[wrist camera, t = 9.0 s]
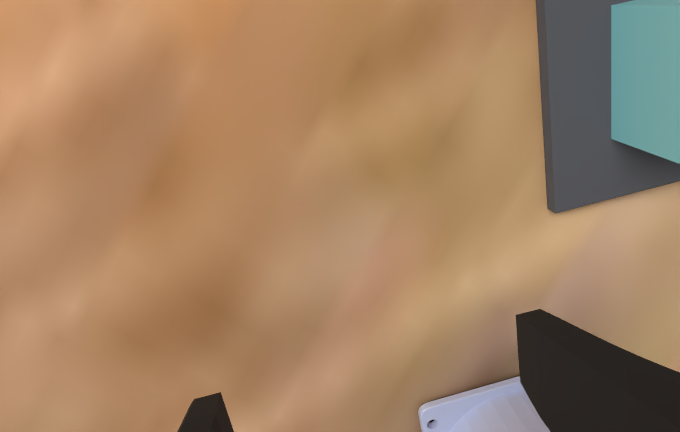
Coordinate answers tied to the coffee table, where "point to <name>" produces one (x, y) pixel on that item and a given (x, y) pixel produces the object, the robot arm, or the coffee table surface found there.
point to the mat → (585, 110)
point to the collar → (646, 76)
